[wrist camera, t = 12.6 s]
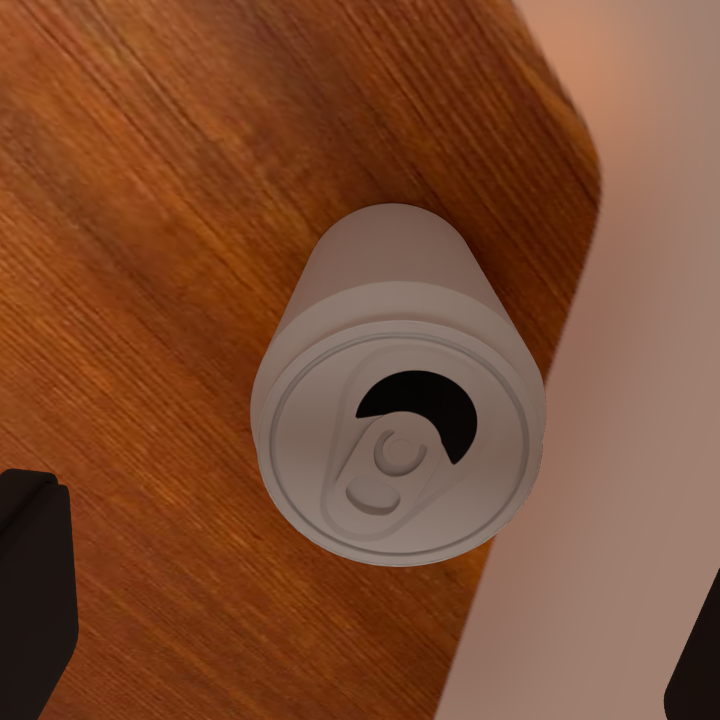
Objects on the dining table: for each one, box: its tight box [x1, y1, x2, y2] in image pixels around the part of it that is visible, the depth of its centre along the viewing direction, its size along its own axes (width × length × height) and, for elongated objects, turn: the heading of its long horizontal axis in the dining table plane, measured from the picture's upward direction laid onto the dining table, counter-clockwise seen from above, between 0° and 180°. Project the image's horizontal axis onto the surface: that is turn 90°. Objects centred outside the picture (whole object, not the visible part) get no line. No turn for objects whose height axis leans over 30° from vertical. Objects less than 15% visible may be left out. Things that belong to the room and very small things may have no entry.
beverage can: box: [250, 203, 546, 567], centre depth 18 cm, size 6×6×12 cm
